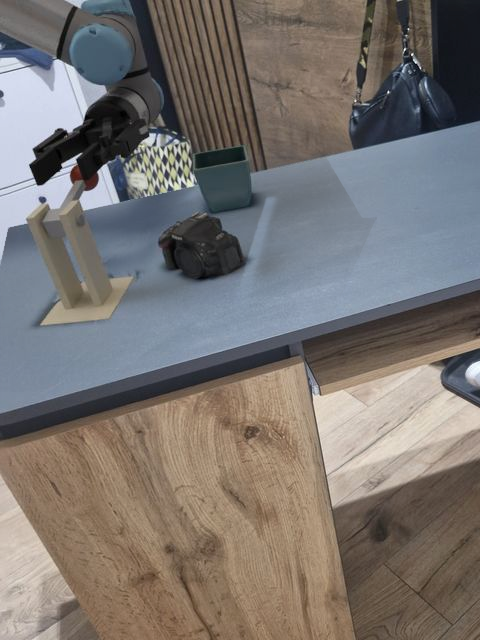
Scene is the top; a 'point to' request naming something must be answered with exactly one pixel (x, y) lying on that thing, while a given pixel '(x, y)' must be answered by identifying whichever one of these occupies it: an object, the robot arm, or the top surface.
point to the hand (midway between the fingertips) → (59, 172)
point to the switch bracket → (75, 297)
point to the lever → (79, 186)
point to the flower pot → (224, 177)
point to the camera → (200, 247)
